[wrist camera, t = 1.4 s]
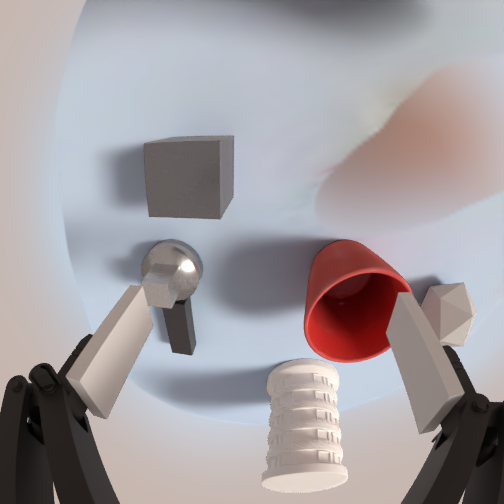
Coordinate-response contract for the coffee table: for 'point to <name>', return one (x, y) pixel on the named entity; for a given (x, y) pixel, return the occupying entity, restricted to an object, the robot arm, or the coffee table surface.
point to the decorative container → (304, 428)
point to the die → (449, 312)
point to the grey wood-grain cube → (189, 176)
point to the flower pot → (350, 302)
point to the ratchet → (173, 289)
